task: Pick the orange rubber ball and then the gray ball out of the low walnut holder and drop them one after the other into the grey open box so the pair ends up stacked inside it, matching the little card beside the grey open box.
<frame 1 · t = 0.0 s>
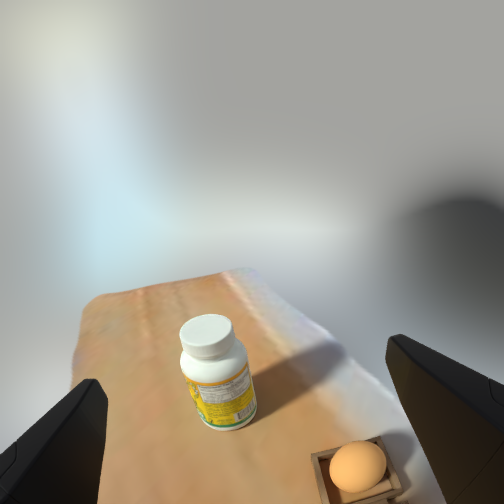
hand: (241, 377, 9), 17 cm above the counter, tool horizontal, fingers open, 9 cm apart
supplement bottle: (228, 411, 27), on the counter
orange ball: (354, 478, 18), resting in holder
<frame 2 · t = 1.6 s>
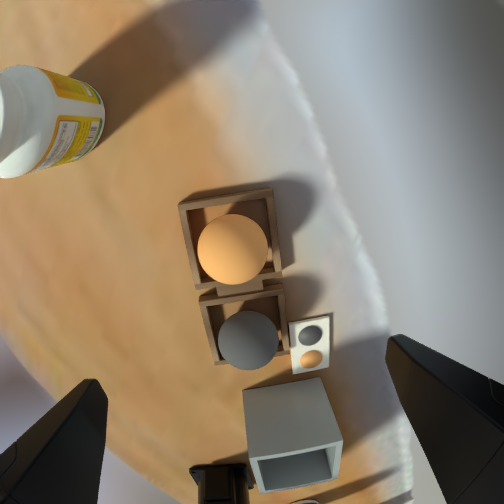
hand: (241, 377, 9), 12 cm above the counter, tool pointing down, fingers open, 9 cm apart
supplement bottle: (71, 120, 17), on the counter
target card: (309, 345, 24), on the counter
gray ball: (246, 323, 23), resting in holder
grey open box: (284, 408, 26), on the counter
orange ball: (231, 238, 20), resting in holder
holder: (239, 287, 21), on the counter
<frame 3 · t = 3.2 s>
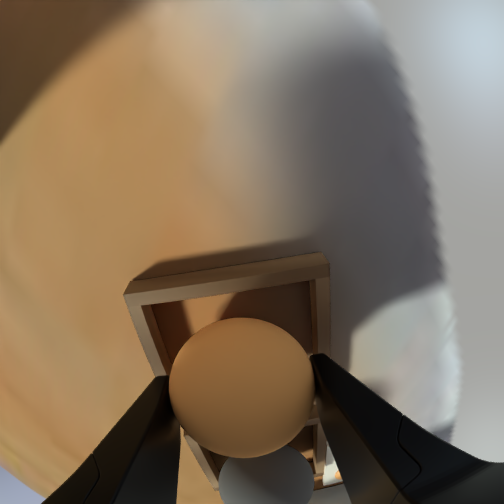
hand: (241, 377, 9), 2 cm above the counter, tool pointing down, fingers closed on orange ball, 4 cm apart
target card: (351, 457, 14), on the counter
gray ball: (261, 448, 13), resting in holder
orange ball: (238, 344, 10), resting in holder, touching gripper
holder: (253, 410, 11), on the counter
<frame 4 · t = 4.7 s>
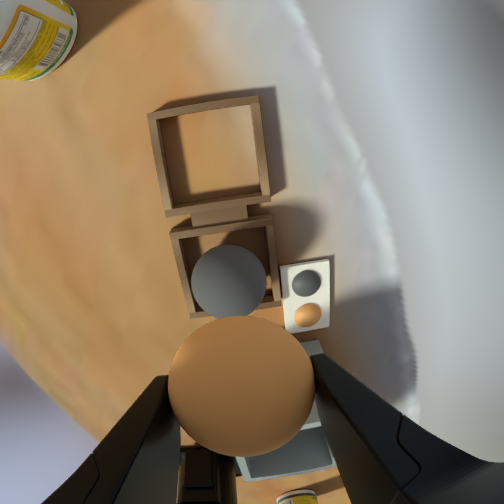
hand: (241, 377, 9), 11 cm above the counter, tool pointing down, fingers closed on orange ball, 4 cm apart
supplement bottle: (43, 39, 12), on the counter
target card: (305, 297, 20), on the counter
supplement bottle 2: (295, 494, 34), on the counter
gray ball: (228, 265, 19), resting in holder
grey open box: (275, 378, 23), on the counter
orange ball: (238, 342, 10), point 9 cm above the counter, touching gripper
holder: (220, 217, 18), on the counter
when the fingers open (9 cm above the counter, at t = 6.0 s): orange ball drops 8 cm, resting in grey open box.
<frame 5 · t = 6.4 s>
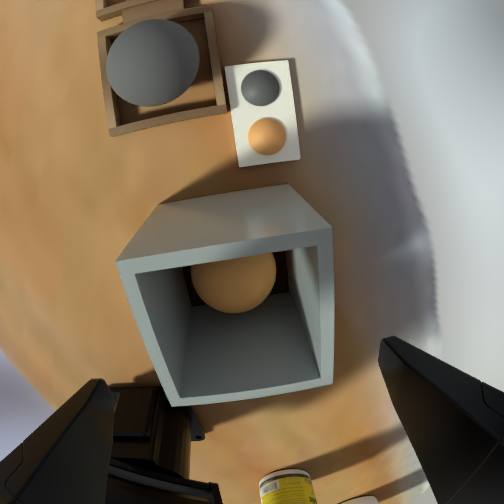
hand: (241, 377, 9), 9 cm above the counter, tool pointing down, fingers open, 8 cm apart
target card: (262, 112, 14), on the counter
supplement bottle 2: (284, 477, 27), on the counter
gray ball: (161, 69, 13), resting in holder
grey open box: (232, 254, 17), on the counter
orange ball: (232, 254, 17), resting in grey open box
holder: (155, 17, 12), on the counter
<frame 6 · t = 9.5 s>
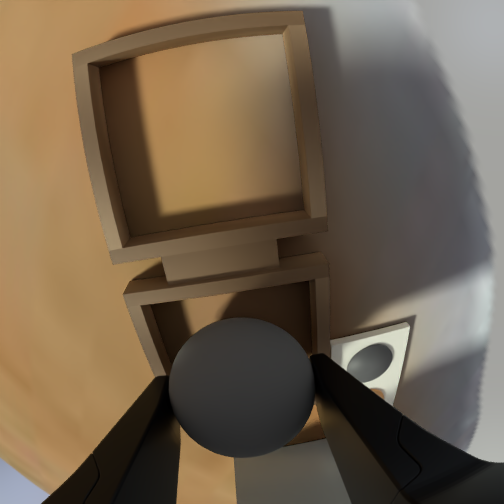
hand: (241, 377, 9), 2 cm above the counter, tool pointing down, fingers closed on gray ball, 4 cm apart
target card: (364, 380, 11), on the counter
gray ball: (238, 344, 10), resting in holder, touching gripper
grey open box: (305, 472, 14), on the counter
holder: (221, 260, 9), on the counter
when the fingers open (9 cm above the counter, at t = 11.9 s): gray ball drops 3 cm and tips over, resting on orange ball, grey open box.
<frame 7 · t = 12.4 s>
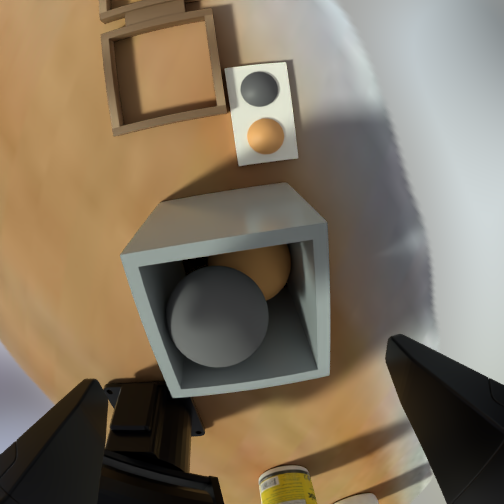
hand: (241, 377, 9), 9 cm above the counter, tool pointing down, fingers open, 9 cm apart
pill bottle: (349, 502, 34), on the counter
target card: (261, 112, 15), on the counter
supplement bottle 2: (283, 473, 28), on the counter
gray ball: (257, 291, 13), point 5 cm above the counter, tilted 60°, touching orange ball, grey open box
grey open box: (232, 250, 17), on the counter
orange ball: (232, 251, 17), resting in grey open box, tilted 24°, touching gray ball
holder: (156, 20, 12), on the counter
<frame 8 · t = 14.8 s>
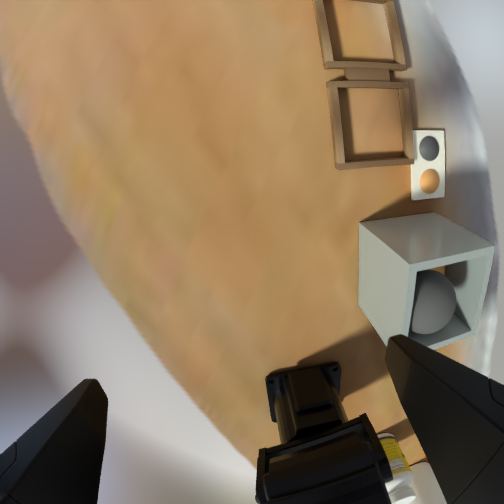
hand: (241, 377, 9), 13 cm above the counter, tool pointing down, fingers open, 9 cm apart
pill bottle: (408, 472, 39), on the counter
target card: (427, 164, 20), on the counter
supplement bottle 2: (374, 442, 33), on the counter
gray ball: (439, 285, 18), point 5 cm above the counter, tilted 59°, touching orange ball, grey open box
grey open box: (397, 258, 23), on the counter
holder: (366, 79, 17), on the counter
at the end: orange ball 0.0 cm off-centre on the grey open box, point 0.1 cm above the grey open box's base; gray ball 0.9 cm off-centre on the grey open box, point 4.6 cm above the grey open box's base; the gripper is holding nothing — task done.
